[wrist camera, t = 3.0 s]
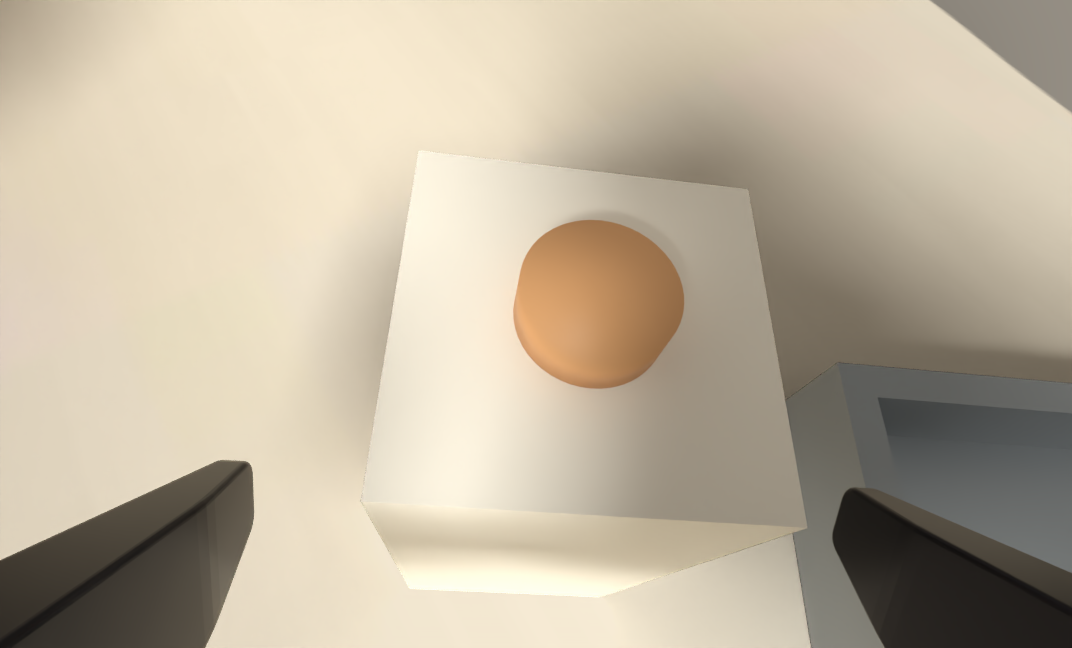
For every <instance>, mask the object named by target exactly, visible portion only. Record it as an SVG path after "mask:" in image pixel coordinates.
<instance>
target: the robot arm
mask: <svg viewBox="0 0 1072 648" xmlns="http://www.w3.org/2000/svg"><path fill="white" fill-rule="evenodd" d="M253 519H254V497H253V472H252V467H251V465H250V464H249V463H248V462H245V461H231V460H220V461H216V462H214V463H212V464H210V465H208V466H205V467H203V468H201V469H199V470H197V471H194V472H192V473H190V474H188V475H186V476H183V477H181V478H179V479H177V480H175V481H173V482H170V483H168V484H166V485H164V486H162V487H159V488H157V489H155V490H153V491H151V492H149V493H146V494H144V495H142V496H140V497H138V498H135V499H133V500H131V501H129V502H127V503H124V504H122V505H120V506H118V507H116V508H114V509H111V510H109V511H107V512H105V513H103V514H100V515H98V516H96V517H94V518H92V519H90V520H87V521H85V522H83V523H81V524H79V525H76V526H74V527H72V528H70V529H68V530H65V531H63V532H61V533H59V534H57V535H55V536H52V537H50V538H48V539H46V540H44V541H41V542H39V543H37V544H35V545H33V546H31V547H28V548H26V549H24V550H22V551H20V552H17V553H15V554H13V555H11V556H9V557H6V558H4V559H2V560H0V648H205V647H206V645H207V643H208V640H209V638H210V636H211V634H212V632H213V630H214V628H215V625H216V623H217V620H218V618H219V615H220V613H221V610H222V607H223V605H224V602H225V599H226V596H227V594H228V591H229V588H230V586H231V583H232V580H233V578H234V575H235V572H236V570H237V567H238V564H239V561H240V559H241V556H242V553H243V551H244V548H245V545H246V543H247V540H248V537H249V535H250V532H251V529H252V525H253ZM832 541H833V546H834V549H835V551H836V553H837V555H838V557H839V559H840V561H841V563H842V565H843V567H844V569H845V571H846V573H847V575H848V577H849V580H850V582H851V584H852V586H853V588H854V590H855V592H856V594H857V596H858V598H859V600H860V602H861V604H862V606H863V608H864V610H865V612H866V614H867V616H868V618H869V620H870V622H871V624H872V626H873V628H874V630H875V632H876V634H877V636H878V638H879V640H880V641H881V643H882V645H883V647H884V648H1072V573H1071V572H1068V571H1066V570H1064V569H1061V568H1059V567H1057V566H1054V565H1052V564H1050V563H1047V562H1045V561H1043V560H1040V559H1038V558H1036V557H1033V556H1031V555H1029V554H1027V553H1024V552H1022V551H1020V550H1017V549H1015V548H1013V547H1010V546H1008V545H1006V544H1003V543H1001V542H999V541H996V540H994V539H992V538H989V537H987V536H985V535H982V534H980V533H978V532H975V531H973V530H971V529H968V528H966V527H964V526H961V525H959V524H957V523H954V522H952V521H950V520H947V519H945V518H943V517H940V516H938V515H936V514H933V513H931V512H929V511H926V510H924V509H922V508H919V507H917V506H915V505H912V504H910V503H908V502H905V501H903V500H901V499H898V498H896V497H894V496H891V495H889V494H887V493H884V492H882V491H880V490H877V489H874V488H858V487H853V488H849V489H847V490H846V491H845V492H844V494H843V496H842V499H841V503H840V506H839V510H838V513H837V517H836V520H835V524H834V528H833V532H832Z"/></svg>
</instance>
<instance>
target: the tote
mask: <svg viewBox="0 0 1072 648" xmlns="http://www.w3.org/2000/svg"><path fill="white" fill-rule="evenodd" d="M785 402H786V407H787V413H788V419H789V424H790V430H791V436H792V442H793V447H794V453H795V459H796V464H797V470H798V476H799V482H800V487H801V493H802V499H803V504H804V510H805V516H806V521H807V527H808V528H806V529H803V530H800V531H797V532H794V533H793V537H794V543H795V549H796V555H797V561H798V568H799V574H800V580H801V586H802V592H803V598H804V604H805V611H806V617H807V623H808V629H809V635H810V641H811V647H812V648H884V647H883V645H882V643H881V641H880V640H879V638H878V636H877V634H876V632H875V630H874V628H873V626H872V624H871V622H870V620H869V618H868V616H867V614H866V612H865V610H864V608H863V606H862V604H861V602H860V600H859V598H858V596H857V594H856V592H855V590H854V588H853V586H852V584H851V582H850V580H849V577H848V575H847V573H846V571H845V569H844V567H843V565H842V563H841V561H840V559H839V557H838V555H837V553H836V551H835V549H834V546H833V541H832V532H833V528H834V524H835V520H836V517H837V513H838V510H839V506H840V503H841V499H842V496H843V494H844V492H845V491H846V490H847V489H849V488H853V487H858V488H874V489H877V490H880V491H882V492H884V493H887V494H889V495H891V496H894V497H896V498H898V499H901V500H903V501H905V502H908V503H910V504H912V505H915V506H917V507H919V508H922V509H924V510H926V511H929V512H931V513H933V514H936V515H938V516H940V517H943V518H945V519H947V520H950V521H952V522H954V523H957V524H959V525H961V526H964V527H966V528H968V529H971V530H973V531H975V532H978V533H980V534H982V535H985V536H987V537H989V538H992V539H994V540H996V541H999V542H1001V543H1003V544H1006V545H1008V546H1010V547H1013V548H1015V549H1017V550H1020V551H1022V552H1024V553H1027V554H1029V555H1031V556H1033V557H1036V558H1038V559H1040V560H1043V561H1045V562H1047V563H1050V564H1052V565H1054V566H1057V567H1059V568H1061V569H1064V570H1066V571H1068V572H1071V573H1072V383H1063V382H1052V381H1040V380H1029V379H1018V378H1007V377H995V376H984V375H973V374H962V373H950V372H939V371H928V370H917V369H905V368H894V367H883V366H871V365H860V364H849V363H838V362H837V363H836V364H835V365H833V366H832V367H831V368H829V369H828V370H827V371H825V372H824V373H822V374H821V375H820V376H818V377H817V378H816V379H814V380H813V381H811V382H810V383H809V384H807V385H806V386H805V387H803V388H802V389H800V390H799V391H798V392H796V393H795V394H794V395H792V396H791V397H789V398H788V399H787V400H785Z"/></svg>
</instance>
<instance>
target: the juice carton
mask: <svg viewBox="0 0 1072 648" xmlns="http://www.w3.org/2000/svg"><path fill="white" fill-rule="evenodd" d="M361 503H362V505H363V507H364V509H365V510H366V512H367V514H368V516H369V517H370V519H371V521H372V523H373V525H374V526H375V528H376V530H377V532H378V533H379V535H380V537H381V539H382V541H383V542H384V544H385V546H386V548H387V549H388V551H389V553H390V555H391V557H392V558H393V560H394V562H395V564H396V565H397V567H398V569H399V571H400V573H401V574H402V576H403V578H404V580H405V582H406V583H407V585H408V587H409V589H428V590H451V591H473V592H495V593H517V594H539V595H562V596H584V597H603V596H606V595H609V594H612V593H615V592H618V591H621V590H624V589H627V588H630V587H633V586H636V585H639V584H642V583H645V582H648V581H651V580H654V579H657V578H660V577H663V576H666V575H669V574H672V573H675V572H678V571H681V570H684V569H687V568H690V567H693V566H696V565H699V564H702V563H705V562H708V561H711V560H714V559H717V558H720V557H723V556H726V555H728V554H731V553H734V552H737V551H740V550H743V549H746V548H749V547H752V546H755V545H758V544H761V543H764V542H767V541H770V540H773V539H776V538H779V537H782V536H785V535H788V534H791V533H794V532H797V531H800V530H803V529H806V528H808V527H807V521H806V516H805V510H804V504H803V499H802V493H801V487H800V482H799V476H798V470H797V464H796V459H795V453H794V447H793V442H792V436H791V430H790V424H789V419H788V413H787V407H786V402H785V396H784V390H783V384H782V379H781V373H780V367H779V362H778V356H777V350H776V344H775V339H774V333H773V327H772V322H771V316H770V310H769V304H768V299H767V293H766V287H765V282H764V276H763V270H762V264H761V259H760V253H759V247H758V242H757V236H756V230H755V225H754V219H753V213H752V207H751V202H750V196H749V190H748V189H743V188H735V187H726V186H718V185H709V184H701V183H692V182H684V181H675V180H667V179H658V178H650V177H641V176H633V175H624V174H616V173H607V172H599V171H590V170H582V169H573V168H565V167H556V166H548V165H539V164H531V163H523V162H514V161H506V160H497V159H489V158H480V157H472V156H463V155H455V154H446V153H438V152H429V151H421V150H419V151H418V157H417V163H416V169H415V176H414V182H413V188H412V194H411V200H410V206H409V212H408V218H407V224H406V230H405V236H404V242H403V248H402V254H401V260H400V266H399V272H398V278H397V284H396V290H395V297H394V303H393V309H392V315H391V321H390V327H389V333H388V339H387V345H386V351H385V357H384V363H383V369H382V375H381V381H380V387H379V393H378V399H377V405H376V412H375V418H374V424H373V430H372V436H371V442H370V448H369V454H368V460H367V466H366V472H365V478H364V484H363V490H362V496H361Z"/></svg>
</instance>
